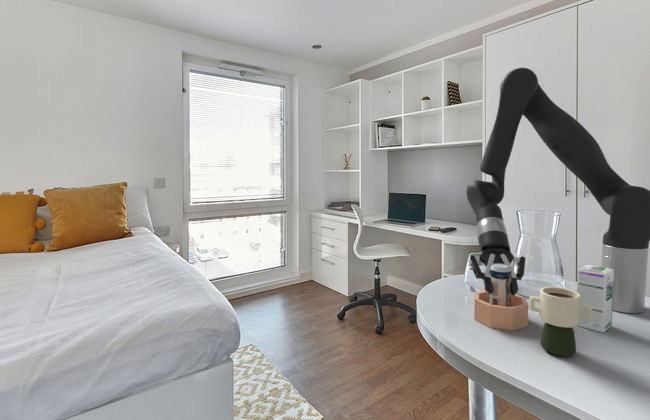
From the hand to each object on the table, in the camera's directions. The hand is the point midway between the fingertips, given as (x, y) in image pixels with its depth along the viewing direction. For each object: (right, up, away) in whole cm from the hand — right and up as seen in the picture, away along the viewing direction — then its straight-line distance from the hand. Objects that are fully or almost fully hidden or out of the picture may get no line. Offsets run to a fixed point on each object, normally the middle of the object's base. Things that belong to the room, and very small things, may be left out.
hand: (502, 293), depth 85 cm
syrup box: (+21, -8, -3) cm, 22 cm away
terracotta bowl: (+1, -7, +3) cm, 8 cm away
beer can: (+1, -5, +2) cm, 6 cm away
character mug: (+5, -9, -13) cm, 17 cm away
